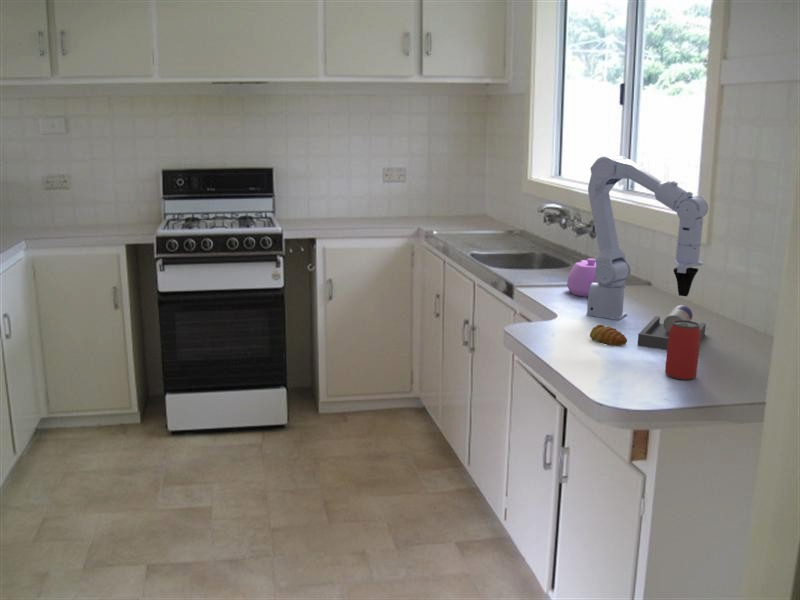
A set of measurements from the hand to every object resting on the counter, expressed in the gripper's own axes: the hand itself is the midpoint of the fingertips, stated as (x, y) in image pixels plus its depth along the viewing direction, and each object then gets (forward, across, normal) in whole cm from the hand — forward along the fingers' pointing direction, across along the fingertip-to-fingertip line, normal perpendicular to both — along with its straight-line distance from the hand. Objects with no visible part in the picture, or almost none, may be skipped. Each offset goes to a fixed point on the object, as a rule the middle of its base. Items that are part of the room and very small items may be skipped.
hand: (683, 295), depth 215 cm
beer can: (+10, -39, -7) cm, 41 cm away
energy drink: (+6, +2, 0) cm, 6 cm away
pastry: (+10, -21, +14) cm, 27 cm away
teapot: (+10, +28, +32) cm, 44 cm away
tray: (+9, -10, 0) cm, 14 cm away
